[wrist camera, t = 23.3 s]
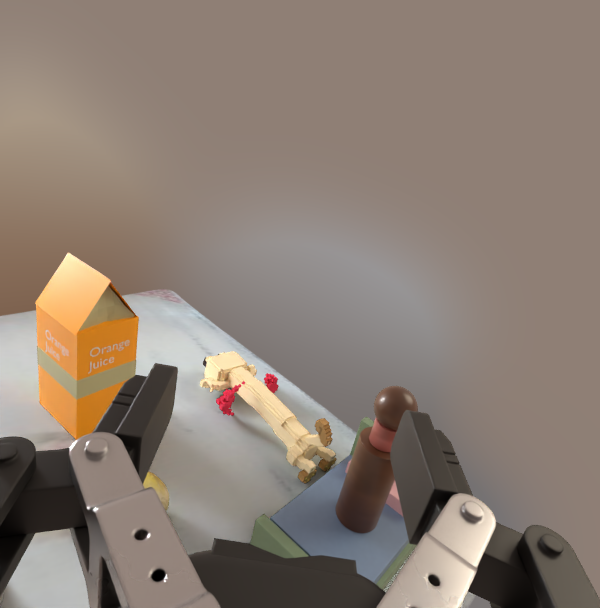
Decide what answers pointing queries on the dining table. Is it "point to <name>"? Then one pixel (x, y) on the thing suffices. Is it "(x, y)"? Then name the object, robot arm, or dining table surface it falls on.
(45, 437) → the dining table surface
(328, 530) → the bed
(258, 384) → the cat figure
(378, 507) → the skittle
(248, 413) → the dining table surface
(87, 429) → the orange juice
